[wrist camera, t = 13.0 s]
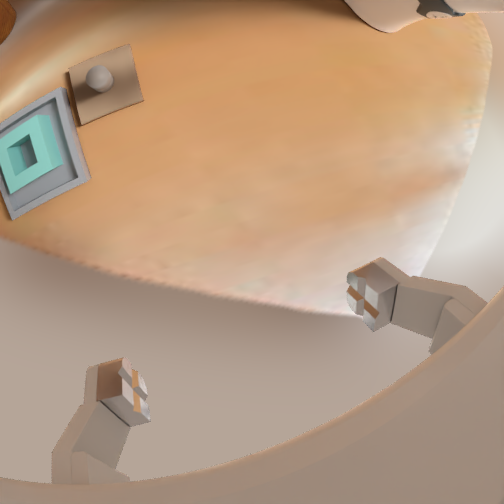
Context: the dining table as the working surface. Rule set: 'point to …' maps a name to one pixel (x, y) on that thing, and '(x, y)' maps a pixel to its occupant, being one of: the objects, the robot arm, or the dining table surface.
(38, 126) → the ring
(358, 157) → the dining table surface
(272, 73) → the dining table surface
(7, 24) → the disposable coffee cup
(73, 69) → the stake
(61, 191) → the tray
